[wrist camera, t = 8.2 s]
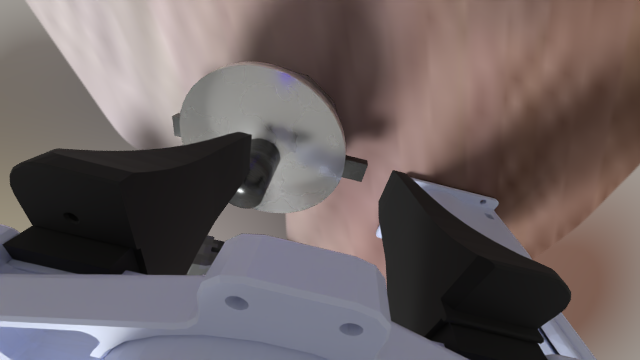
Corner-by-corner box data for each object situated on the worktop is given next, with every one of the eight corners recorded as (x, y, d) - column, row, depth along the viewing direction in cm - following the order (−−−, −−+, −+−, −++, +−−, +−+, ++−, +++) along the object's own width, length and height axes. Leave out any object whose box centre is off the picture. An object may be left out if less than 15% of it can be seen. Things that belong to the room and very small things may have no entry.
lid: (362, 73, 15) (363, 112, 10) (334, 206, 22) (327, 265, 17) (177, 44, 15) (95, 69, 10) (210, 185, 22) (170, 237, 18)
